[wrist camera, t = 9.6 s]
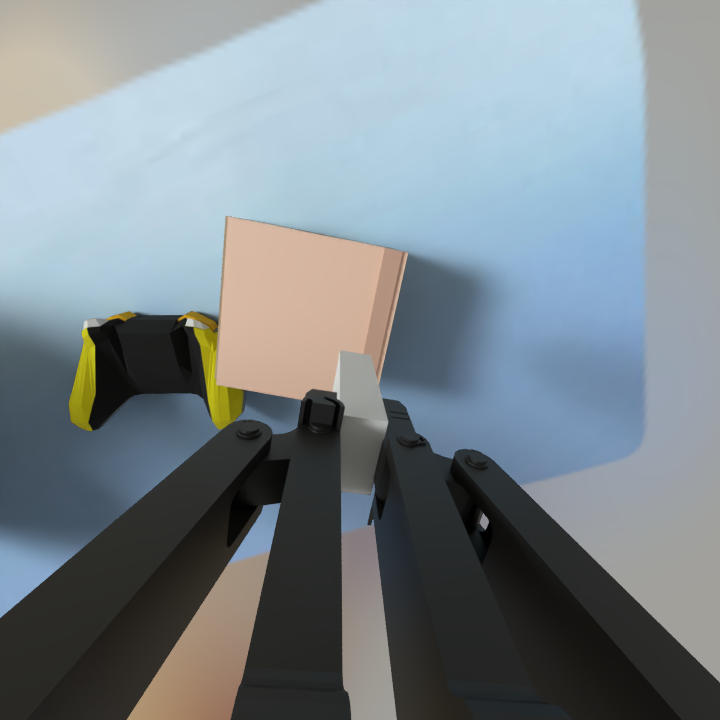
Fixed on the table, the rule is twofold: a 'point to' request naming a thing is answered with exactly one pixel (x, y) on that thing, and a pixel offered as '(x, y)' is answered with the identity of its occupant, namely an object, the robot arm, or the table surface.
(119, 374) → the gaming controller
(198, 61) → the table surface
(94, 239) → the table surface
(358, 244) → the lid
